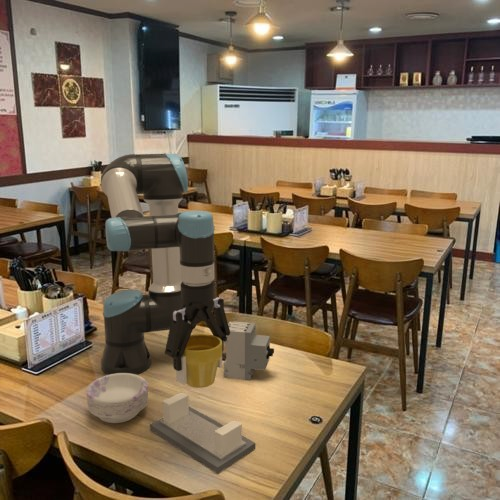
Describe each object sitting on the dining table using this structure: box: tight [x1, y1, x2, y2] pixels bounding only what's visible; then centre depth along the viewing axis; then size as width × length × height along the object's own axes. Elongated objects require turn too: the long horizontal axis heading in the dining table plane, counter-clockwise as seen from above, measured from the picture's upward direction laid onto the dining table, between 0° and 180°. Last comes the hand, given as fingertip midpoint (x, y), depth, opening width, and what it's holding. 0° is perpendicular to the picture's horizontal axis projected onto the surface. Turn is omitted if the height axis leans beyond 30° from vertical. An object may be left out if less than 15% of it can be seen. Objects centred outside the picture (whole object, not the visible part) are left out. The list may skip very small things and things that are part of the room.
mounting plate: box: [149, 406, 256, 474], centre depth 122 cm, size 24×12×2 cm, turn 47°
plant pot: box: [178, 333, 222, 389], centre depth 117 cm, size 10×10×10 cm
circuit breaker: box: [222, 321, 275, 381], centre depth 152 cm, size 8×14×15 cm, turn 78°
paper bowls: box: [86, 373, 149, 424], centre depth 132 cm, size 15×15×8 cm
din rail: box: [158, 411, 246, 461], centre depth 122 cm, size 22×8×1 cm, turn 47°
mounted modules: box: [162, 392, 243, 455], centre depth 121 cm, size 21×6×5 cm, turn 47°
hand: (199, 373), depth 118 cm, fingers closed on plant pot, 10 cm apart
